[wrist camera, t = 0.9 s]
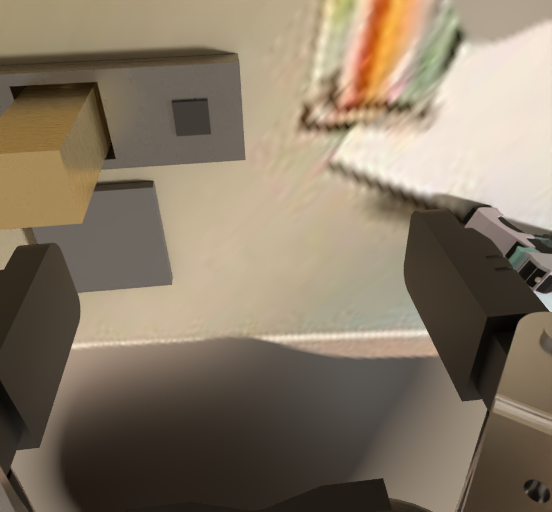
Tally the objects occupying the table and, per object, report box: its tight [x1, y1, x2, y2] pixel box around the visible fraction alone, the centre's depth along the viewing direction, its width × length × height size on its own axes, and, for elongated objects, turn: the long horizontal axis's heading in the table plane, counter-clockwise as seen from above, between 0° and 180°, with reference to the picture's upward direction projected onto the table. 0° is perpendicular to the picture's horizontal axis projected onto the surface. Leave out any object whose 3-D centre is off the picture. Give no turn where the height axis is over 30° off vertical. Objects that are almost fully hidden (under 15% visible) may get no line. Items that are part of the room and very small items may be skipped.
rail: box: [0, 54, 245, 170], centre depth 34 cm, size 24×7×2 cm, turn 91°
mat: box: [31, 181, 172, 293], centre depth 41 cm, size 10×10×1 cm
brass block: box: [0, 82, 111, 230], centre depth 30 cm, size 4×4×11 cm
